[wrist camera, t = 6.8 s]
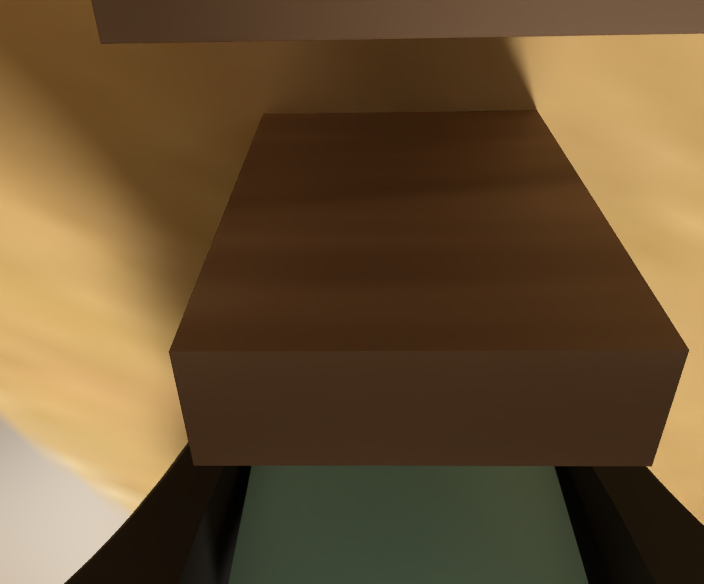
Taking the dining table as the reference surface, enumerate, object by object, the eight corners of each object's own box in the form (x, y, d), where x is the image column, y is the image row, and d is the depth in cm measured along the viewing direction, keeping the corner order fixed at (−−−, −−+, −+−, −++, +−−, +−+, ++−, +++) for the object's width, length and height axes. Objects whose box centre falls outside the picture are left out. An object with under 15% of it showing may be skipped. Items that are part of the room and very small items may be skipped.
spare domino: (500, 366, 16) (575, 672, 10) (287, 364, 16) (237, 664, 10) (508, 311, 15) (596, 609, 9) (283, 308, 15) (224, 602, 9)
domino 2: (263, 114, 12) (168, 351, 7) (536, 110, 12) (688, 349, 6) (270, 193, 13) (193, 466, 7) (526, 190, 13) (652, 466, 7)
